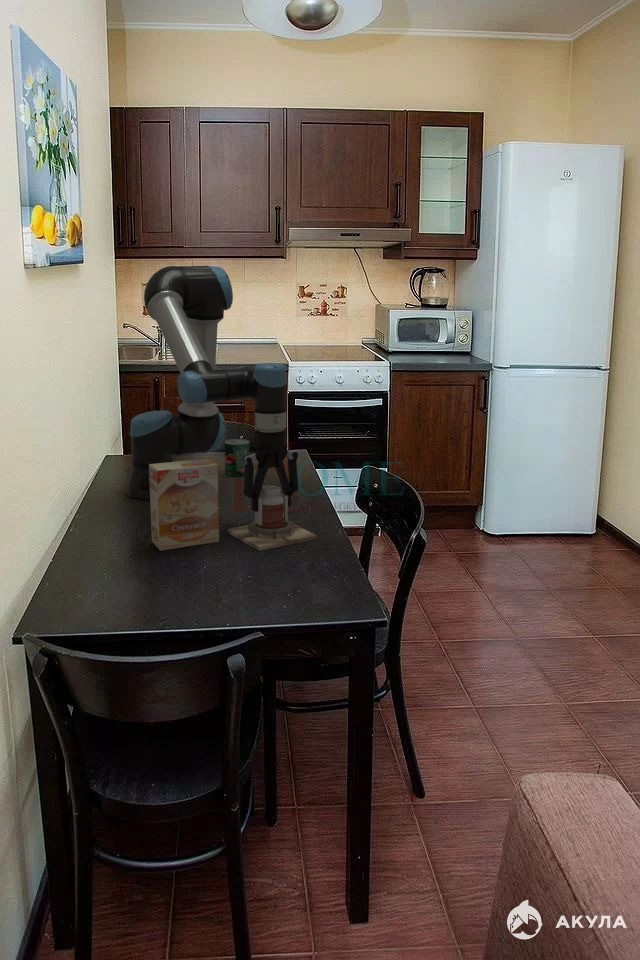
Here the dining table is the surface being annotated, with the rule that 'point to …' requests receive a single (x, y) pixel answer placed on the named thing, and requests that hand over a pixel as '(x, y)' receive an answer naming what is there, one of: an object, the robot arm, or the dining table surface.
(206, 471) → the coffeecake box
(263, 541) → the socket
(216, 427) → the robot arm
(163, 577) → the dining table surface
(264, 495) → the pill bottle
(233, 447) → the canned tomato
